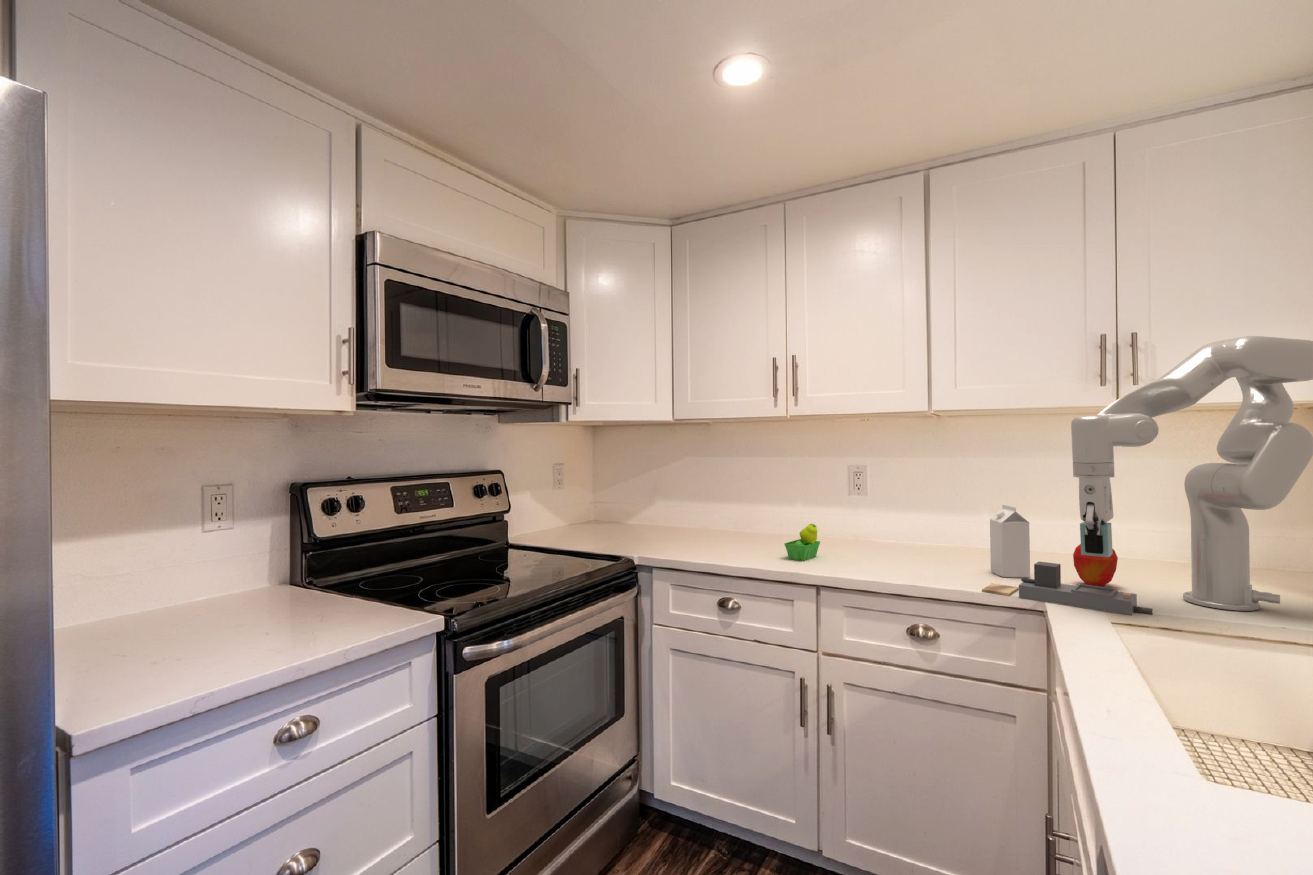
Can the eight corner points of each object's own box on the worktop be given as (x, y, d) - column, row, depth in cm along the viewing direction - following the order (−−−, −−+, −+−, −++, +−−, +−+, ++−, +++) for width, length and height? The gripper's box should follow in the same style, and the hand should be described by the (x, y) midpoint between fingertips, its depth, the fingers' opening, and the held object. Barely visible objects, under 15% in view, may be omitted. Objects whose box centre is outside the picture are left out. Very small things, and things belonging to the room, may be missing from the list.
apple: (1124, 591, 144) (1123, 542, 144) (1080, 588, 147) (1079, 540, 147) (1109, 582, 153) (1109, 536, 153) (1068, 580, 156) (1068, 534, 156)
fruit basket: (800, 553, 196) (799, 519, 196) (825, 557, 191) (824, 522, 191) (783, 559, 188) (782, 523, 188) (809, 562, 182) (808, 526, 182)
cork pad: (1018, 589, 147) (1018, 587, 147) (1009, 596, 142) (1009, 593, 142) (992, 585, 152) (992, 583, 152) (982, 591, 146) (982, 589, 146)
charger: (1112, 553, 133) (1111, 522, 133) (1108, 557, 129) (1107, 525, 129) (1085, 551, 137) (1084, 521, 137) (1080, 554, 133) (1079, 523, 133)
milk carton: (1016, 572, 166) (1016, 504, 166) (1030, 578, 159) (1029, 507, 159) (990, 571, 167) (989, 504, 167) (1002, 577, 160) (1001, 507, 160)
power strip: (1154, 610, 129) (1153, 573, 129) (1150, 618, 123) (1149, 580, 123) (1025, 590, 146) (1025, 558, 146) (1016, 597, 141) (1016, 563, 141)
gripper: (1107, 473, 125) (1111, 559, 124) (1120, 468, 137) (1123, 546, 137) (1065, 472, 130) (1068, 555, 130) (1080, 467, 142) (1083, 543, 142)
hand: (1096, 550), depth 133 cm, fingers closed on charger, 5 cm apart
